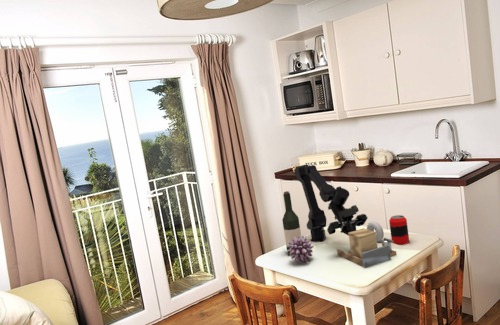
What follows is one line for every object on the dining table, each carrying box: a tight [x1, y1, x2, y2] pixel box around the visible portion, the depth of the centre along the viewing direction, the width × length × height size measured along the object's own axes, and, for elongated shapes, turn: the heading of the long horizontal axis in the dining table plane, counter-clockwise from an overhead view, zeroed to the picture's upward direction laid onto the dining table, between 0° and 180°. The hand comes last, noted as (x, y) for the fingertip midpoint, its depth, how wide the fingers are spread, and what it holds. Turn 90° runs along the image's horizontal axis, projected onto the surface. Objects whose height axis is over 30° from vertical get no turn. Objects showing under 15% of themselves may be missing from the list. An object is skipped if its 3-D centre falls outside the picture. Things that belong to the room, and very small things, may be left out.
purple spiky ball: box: [286, 235, 314, 263], centre depth 189 cm, size 12×12×12 cm
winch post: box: [381, 237, 397, 258], centre depth 179 cm, size 6×5×8 cm
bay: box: [336, 245, 392, 269], centre depth 182 cm, size 20×13×7 cm, turn 21°
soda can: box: [388, 214, 410, 246], centre depth 194 cm, size 8×8×12 cm
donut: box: [366, 221, 385, 243], centre depth 200 cm, size 10×4×10 cm, turn 24°
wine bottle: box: [281, 191, 302, 257], centre depth 202 cm, size 8×8×30 cm
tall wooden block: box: [347, 227, 378, 259], centre depth 180 cm, size 8×8×11 cm
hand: (357, 239), depth 184 cm, fingers closed, pressing on tall wooden block
